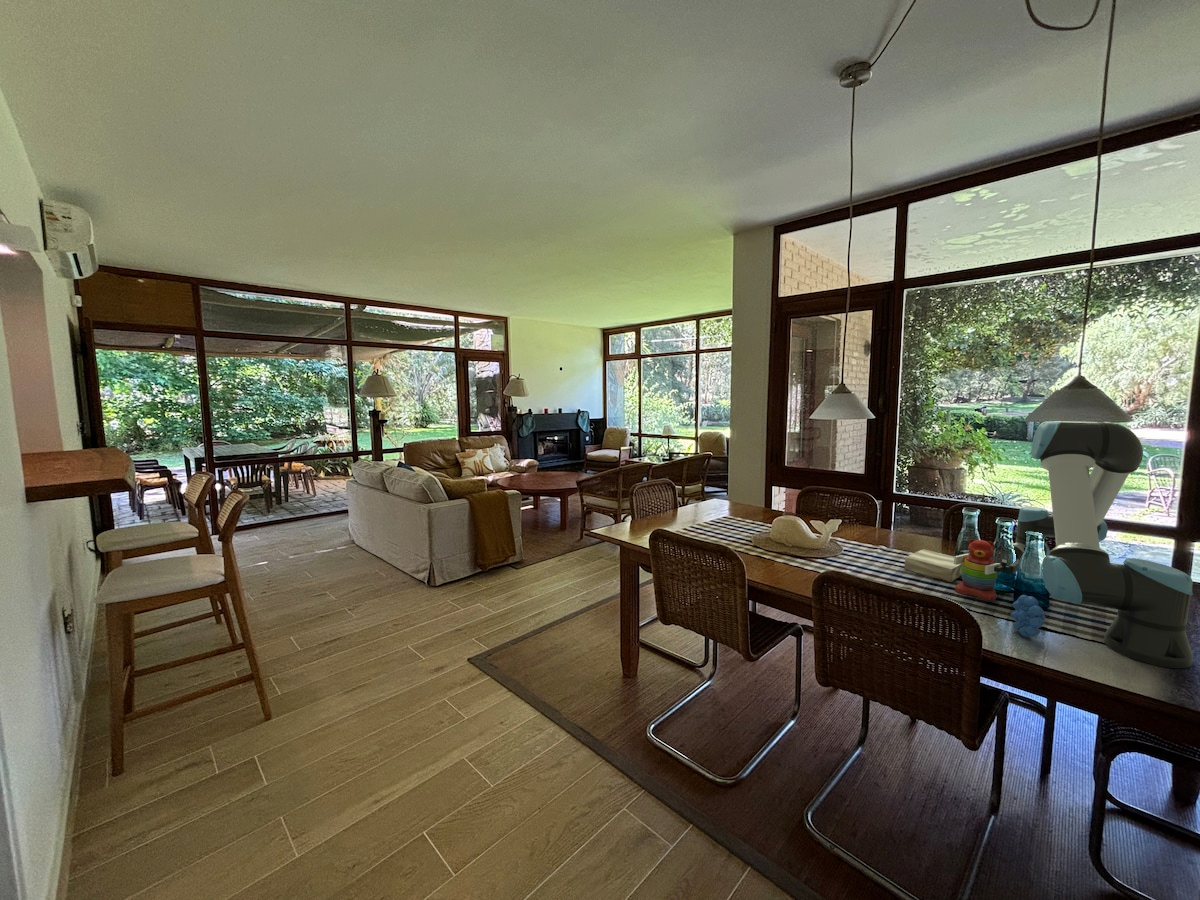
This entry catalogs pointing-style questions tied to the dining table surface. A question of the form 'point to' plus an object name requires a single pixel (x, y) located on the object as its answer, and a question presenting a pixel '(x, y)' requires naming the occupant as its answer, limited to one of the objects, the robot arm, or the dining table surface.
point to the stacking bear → (978, 571)
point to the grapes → (1028, 616)
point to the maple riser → (933, 565)
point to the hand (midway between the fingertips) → (970, 565)
